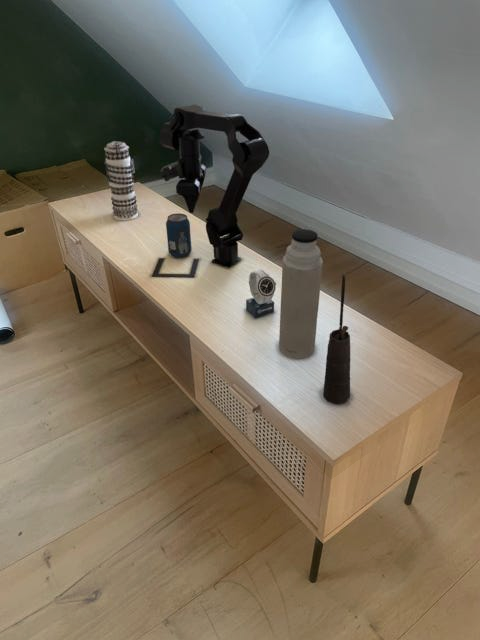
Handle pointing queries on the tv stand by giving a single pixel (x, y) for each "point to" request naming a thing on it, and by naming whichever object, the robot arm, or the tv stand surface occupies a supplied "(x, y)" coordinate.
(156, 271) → the tape square
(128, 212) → the white and grey cylinder
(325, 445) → the tv stand surface
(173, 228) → the soda can
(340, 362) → the butter churn
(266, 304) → the watch
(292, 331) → the thermos bottle
